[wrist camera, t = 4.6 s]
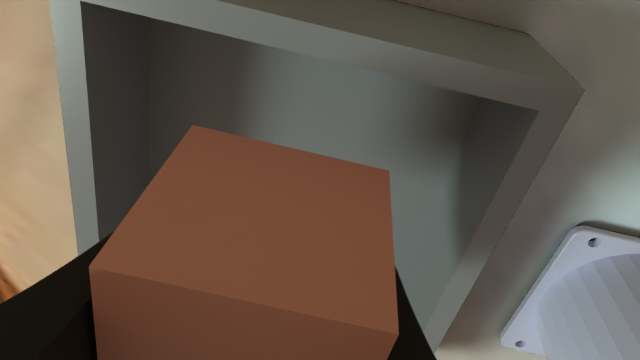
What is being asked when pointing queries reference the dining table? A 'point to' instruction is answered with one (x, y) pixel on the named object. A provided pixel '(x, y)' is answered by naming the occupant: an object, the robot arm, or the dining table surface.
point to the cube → (250, 258)
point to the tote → (319, 112)
